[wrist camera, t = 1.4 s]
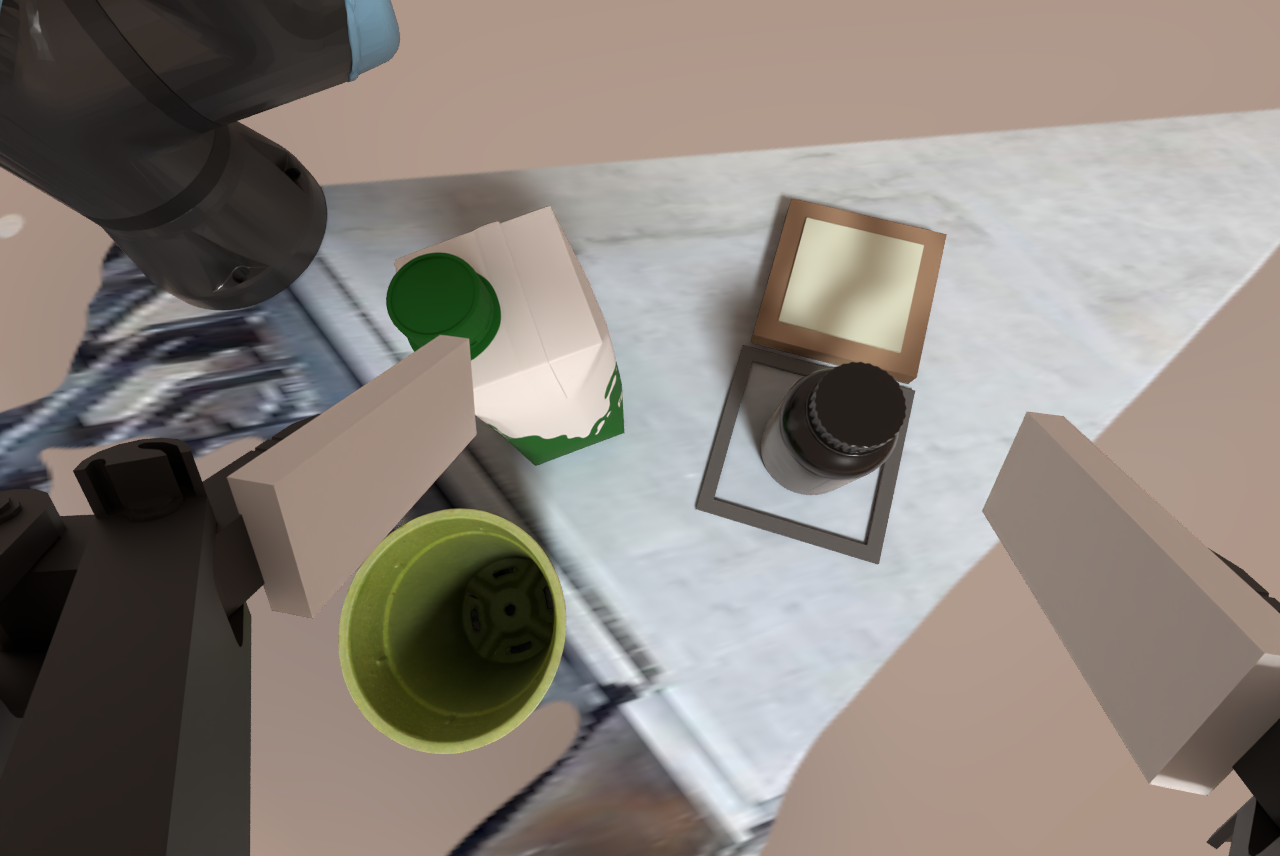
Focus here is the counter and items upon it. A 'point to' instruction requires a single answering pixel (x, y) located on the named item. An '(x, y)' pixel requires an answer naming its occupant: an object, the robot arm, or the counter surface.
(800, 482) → the supplement bottle
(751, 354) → the ring
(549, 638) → the plant pot
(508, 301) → the milk carton
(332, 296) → the counter surface
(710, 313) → the counter surface
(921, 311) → the walnut board
